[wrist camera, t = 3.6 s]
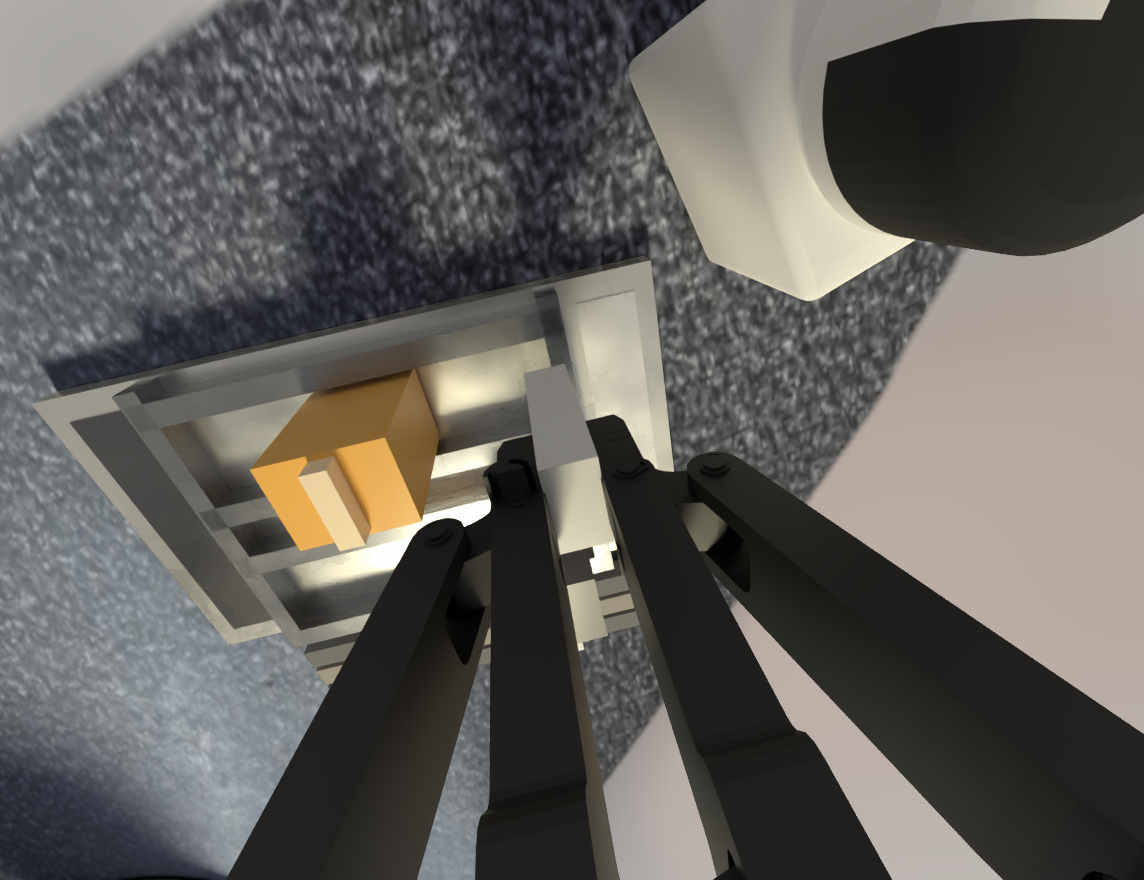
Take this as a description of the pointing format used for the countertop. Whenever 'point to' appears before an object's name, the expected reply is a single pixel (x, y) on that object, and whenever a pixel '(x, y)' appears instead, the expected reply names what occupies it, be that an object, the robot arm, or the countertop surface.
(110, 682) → the countertop surface
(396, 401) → the toggle
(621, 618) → the strapped plank bundle
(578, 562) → the toggle
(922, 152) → the container
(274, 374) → the panel
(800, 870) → the robot arm
